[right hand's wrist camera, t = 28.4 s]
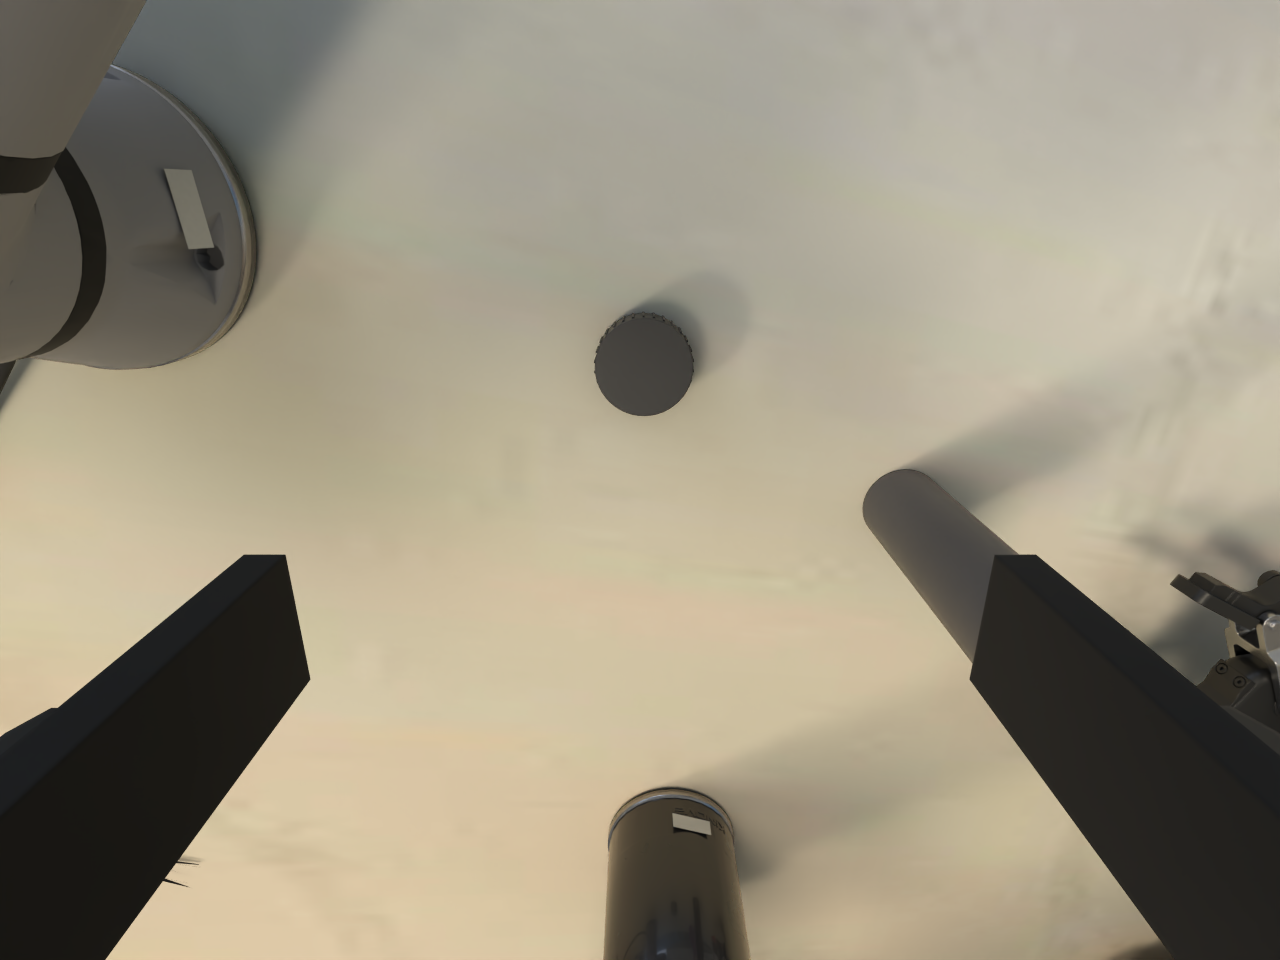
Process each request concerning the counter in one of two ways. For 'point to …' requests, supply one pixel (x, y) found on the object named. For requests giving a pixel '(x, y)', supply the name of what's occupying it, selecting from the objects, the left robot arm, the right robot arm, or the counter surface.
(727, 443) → the counter surface
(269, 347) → the counter surface
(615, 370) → the lid
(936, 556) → the jar
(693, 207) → the counter surface
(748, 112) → the counter surface
